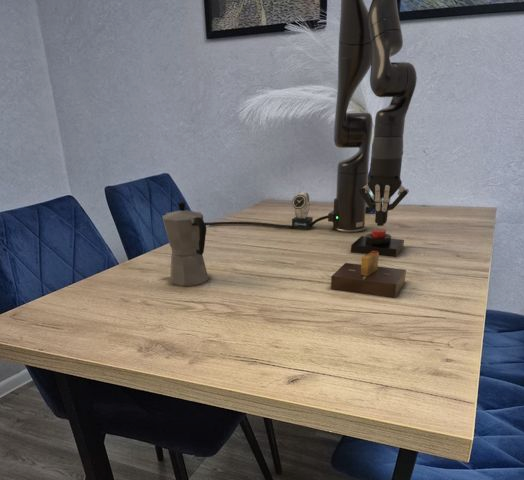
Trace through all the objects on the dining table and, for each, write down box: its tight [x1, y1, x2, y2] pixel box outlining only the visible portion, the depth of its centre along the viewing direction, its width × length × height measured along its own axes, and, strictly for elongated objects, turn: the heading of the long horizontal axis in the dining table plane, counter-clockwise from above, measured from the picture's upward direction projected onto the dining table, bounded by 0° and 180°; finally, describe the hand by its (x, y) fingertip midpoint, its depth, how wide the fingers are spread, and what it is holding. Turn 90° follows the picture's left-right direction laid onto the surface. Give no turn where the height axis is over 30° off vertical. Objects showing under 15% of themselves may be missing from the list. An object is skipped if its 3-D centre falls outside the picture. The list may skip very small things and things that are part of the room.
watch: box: [291, 191, 314, 231], centre depth 151 cm, size 6×8×11 cm
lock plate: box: [330, 262, 407, 298], centre depth 104 cm, size 14×10×3 cm
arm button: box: [371, 228, 387, 238], centre depth 127 cm, size 4×4×2 cm
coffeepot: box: [161, 201, 209, 287], centre depth 107 cm, size 15×9×18 cm, turn 39°
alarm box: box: [350, 232, 405, 258], centre depth 128 cm, size 12×10×4 cm
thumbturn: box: [360, 251, 380, 276], centre depth 102 cm, size 5×2×4 cm, turn 142°
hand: (380, 225), depth 126 cm, fingers closed
